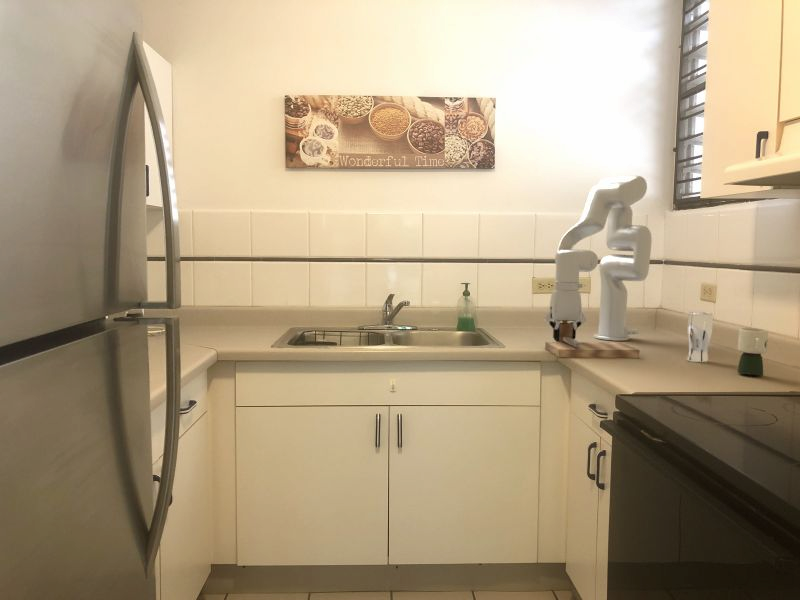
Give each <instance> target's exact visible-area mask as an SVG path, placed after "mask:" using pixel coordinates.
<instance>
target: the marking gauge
mask: <svg viewBox="0 0 800 600" xmlns="http://www.w3.org/2000/svg"><path fill="white" fill-rule="evenodd" d="M558 328H559V341H555V342H566V343H568V344H570V345H572V346H574V347H581V346H582V343H580V342H581V341H578V340H576V339H572V334H573V324H571V323H570V322H568V321H562V322H560V324H559V327H558Z"/></svg>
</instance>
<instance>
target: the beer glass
mask: <svg viewBox="0 0 800 600" xmlns="http://www.w3.org/2000/svg"><path fill="white" fill-rule="evenodd" d="M713 318H714V315H713V313H712V312H711V313H710V312H704V311H702V312H701V311H689V315H688V319H687V338H688V353H687V357H686V360H687V361H689V362H692V363H701V364H702V363H704V364H705V363H709V354H708V352H709V351H708V350H709V346H710V342H711V341H710V340H711V339H712V338H711V337H712V335H713V334H712V333H713V325H714V324H713V323H714V319H713Z"/></svg>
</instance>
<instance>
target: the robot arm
mask: <svg viewBox="0 0 800 600" xmlns="http://www.w3.org/2000/svg"><path fill="white" fill-rule="evenodd" d="M647 189H648V183H647V180H646V179H645V178H644V177H643V176H642V175H625V176H622V175H621V176H610V177H605V178H602V179H601V180H599V182H598V184H597V185H594V186H593V187H591V189H590V190H589V193H588V196H587V199H586V202H585V205H584V208H583V210H582V214H581V216H580V219H579V221H578V222H577V223H575V224H574V225H573V226H572V227H571V228H569V230H567V232H565V234H564V235H563V236H562V238H561V239H560V241H559V243H558V246H557V249H556V253H555V257H554V258H555V259H554V263H555V283H554V290H552V291H551V295H550V301H549V309H548V312H547V314H546V315H545V316H544V317H543V320H544V322H547V324H549V326H551V328H552V330H553V333H552V338H553V339H554V342H556V341H559V328H558V327H559V324H560V323H561V322H563V321H567V322H569V323H571V324H573V334H572V339H574V340H576V335H577V333H576V332H577V330H578V328H579V327H580V326H581V325H582V324H583V323H585V322H586V321H587V318H586V317H585V315H584V314H583V311H582V306H583V305H582V298H581V292H580V291H579V290H580V289H582V288H583V284H582V283H580V281H579V280H580V272H581V273H589V272H592V271H594V270H596V268H597V267H599V268H598V269H599V276H600V301H599V302H600V303H599V316H598V317H599V319H598V332H596V333H594V334H593V337H594V338H595V339H599V340H605V341H612V342H613V341H614V342H615V341H616V342H617V341H618V342H620V341H622V342H623V341H629V340H630V336H629V335H638V334H639V330H638V328H633V329H632V328H629V327H628V326H627V310H628V309H627V308H628V306H627V305H628V290H627V287H626V285H625V284H624V282H627V281H628V282H643V281H644V280H646V279H647V277H648V276H649V271H650V263H651V262H650V261H651V253H652V252H651V251H652V243H653V241H652V239H653V238H652V233H651V230H650V229H649V227H647V226H645V225H640V224H639V225H636V224H635V225H633V209H632V207H631V206H632V205H633V204H635V203H637V202H639V201H640V200H642V199H643V197H645V195H646V193H647V191H648V190H647ZM606 222H607V228H606V240H605V241H606V243H605V244H606V247H607V249H610V250H611V251H618V252H633V254H619V253H618V254H617V253H616V254H615V253H614V254H607V255H605V256H603V257H602V258H601V259H600V261H599V257H598V255H597V254H596V253H595V252H594V251H592V250H590V249H577V248H576V249H573V248H574V247H575V246H576V244H578V243H579V242H580V241H582V240H584V239H586V238H588V237H590V236H594V235H596V234H598V233H600V232H602V231H603V230H604V229H605V226H606ZM598 263H599V265H598ZM623 281H624V282H623Z"/></svg>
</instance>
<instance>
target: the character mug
mask: <svg viewBox="0 0 800 600" xmlns="http://www.w3.org/2000/svg"><path fill="white" fill-rule="evenodd" d="M738 331H739V332H738V341H737V342H738V343H737V350H738V351H739V352H742V353H741V355H740V358H739V360H738V361H739V362H738V367H737V373H739V374H743V375H744V374H746V375H750V377H753V376H754V375H755V376H763V375H764V364H763V363H764V361H763V357H762V354H765V353H767V351H768V340H769V329H768V330H767V329H764V328H758V327H757V328H755V327H740V328H739V330H738Z"/></svg>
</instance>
